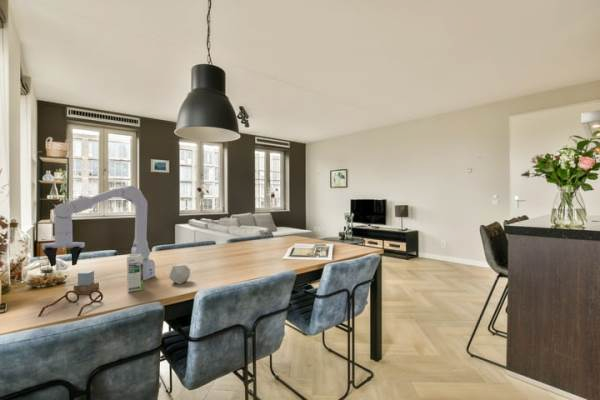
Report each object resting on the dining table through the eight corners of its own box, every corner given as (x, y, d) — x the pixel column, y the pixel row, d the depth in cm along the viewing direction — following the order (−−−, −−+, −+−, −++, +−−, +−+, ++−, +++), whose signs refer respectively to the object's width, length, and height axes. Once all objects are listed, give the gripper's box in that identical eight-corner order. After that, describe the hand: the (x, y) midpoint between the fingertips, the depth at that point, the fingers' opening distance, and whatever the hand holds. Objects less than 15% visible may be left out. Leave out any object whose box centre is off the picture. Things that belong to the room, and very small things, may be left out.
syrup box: (127, 292, 118) (127, 256, 117) (127, 288, 123) (126, 254, 122) (143, 290, 121) (143, 255, 120) (142, 286, 126) (142, 252, 125)
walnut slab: (98, 289, 122) (98, 282, 122) (85, 294, 117) (84, 286, 117) (87, 288, 124) (87, 281, 124) (73, 292, 118) (73, 285, 118)
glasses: (103, 302, 107) (103, 289, 107) (78, 317, 94) (78, 302, 94) (67, 303, 107) (66, 289, 107) (36, 318, 94) (36, 302, 94)
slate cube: (94, 282, 122) (94, 270, 122) (88, 285, 118) (88, 273, 118) (83, 282, 122) (83, 271, 122) (77, 285, 118) (77, 273, 118)
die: (194, 284, 131) (194, 263, 137) (180, 278, 124) (181, 257, 130) (178, 289, 133) (179, 269, 139) (164, 284, 126) (165, 263, 132)
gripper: (88, 230, 125) (88, 262, 125) (49, 231, 122) (49, 263, 123) (79, 232, 118) (79, 266, 119) (38, 233, 115) (38, 267, 116)
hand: (63, 265), depth 120 cm, fingers open, 7 cm apart
